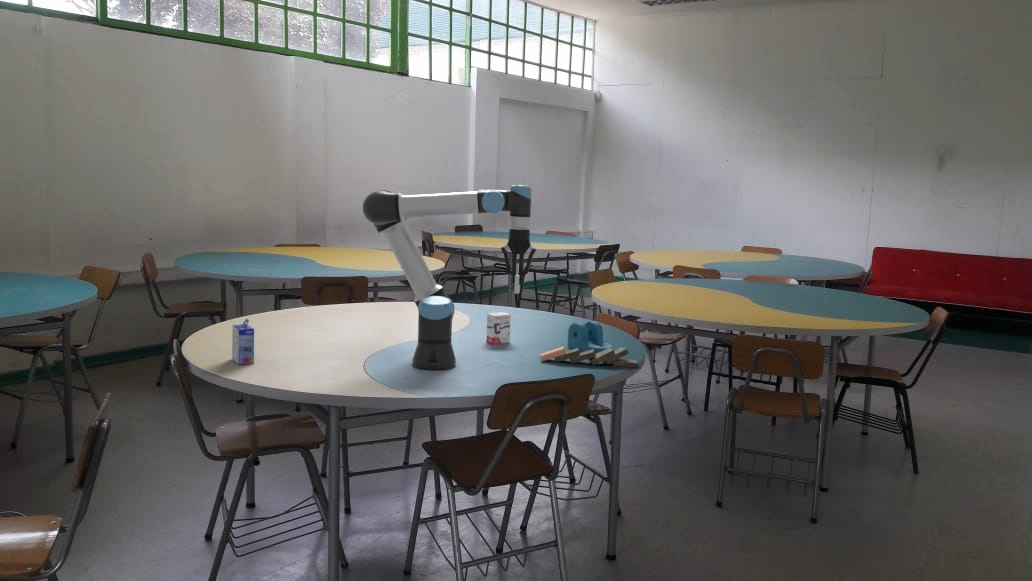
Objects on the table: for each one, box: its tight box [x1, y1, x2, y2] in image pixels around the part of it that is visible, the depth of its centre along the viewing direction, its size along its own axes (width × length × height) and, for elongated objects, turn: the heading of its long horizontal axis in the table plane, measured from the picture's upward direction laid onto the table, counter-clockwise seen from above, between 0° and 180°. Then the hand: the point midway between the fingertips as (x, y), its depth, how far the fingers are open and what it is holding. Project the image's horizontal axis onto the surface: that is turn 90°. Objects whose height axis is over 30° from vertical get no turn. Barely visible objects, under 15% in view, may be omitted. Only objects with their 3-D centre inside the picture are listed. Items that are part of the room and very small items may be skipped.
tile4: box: [587, 348, 615, 366], centre depth 274 cm, size 2×5×9 cm
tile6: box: [611, 358, 639, 368], centre depth 275 cm, size 2×5×9 cm
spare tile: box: [539, 346, 567, 362], centre depth 277 cm, size 2×5×9 cm
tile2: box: [553, 348, 581, 363], centre depth 276 cm, size 2×5×9 cm
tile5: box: [601, 346, 630, 365], centre depth 275 cm, size 2×5×9 cm
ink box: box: [485, 311, 512, 345], centre depth 303 cm, size 8×5×12 cm, turn 123°
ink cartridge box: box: [231, 318, 255, 365], centre depth 257 cm, size 10×6×14 cm, turn 33°
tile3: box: [569, 349, 595, 365], centre depth 275 cm, size 2×5×9 cm
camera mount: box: [566, 321, 613, 354], centre depth 296 cm, size 18×10×10 cm, turn 34°
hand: (516, 293), depth 275 cm, fingers closed
